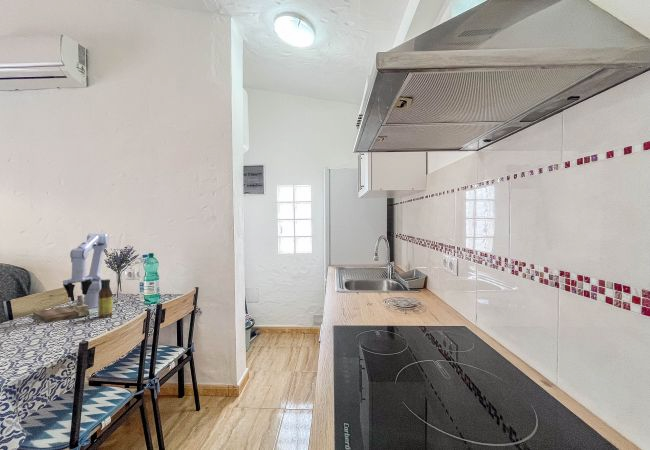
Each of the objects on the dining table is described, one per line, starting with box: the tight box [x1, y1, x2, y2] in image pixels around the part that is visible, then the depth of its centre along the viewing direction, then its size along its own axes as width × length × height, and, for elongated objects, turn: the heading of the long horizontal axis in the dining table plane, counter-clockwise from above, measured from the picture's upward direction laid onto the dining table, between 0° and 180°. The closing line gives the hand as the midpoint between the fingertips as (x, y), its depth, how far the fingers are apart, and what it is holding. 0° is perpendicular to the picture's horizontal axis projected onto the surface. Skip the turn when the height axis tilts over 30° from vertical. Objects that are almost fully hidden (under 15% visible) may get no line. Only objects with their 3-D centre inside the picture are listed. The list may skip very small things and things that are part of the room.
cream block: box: [72, 294, 90, 317], centre depth 169 cm, size 4×9×10 cm, turn 57°
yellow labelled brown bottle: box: [97, 278, 114, 319], centre depth 168 cm, size 6×6×20 cm
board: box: [32, 305, 90, 323], centre depth 167 cm, size 18×20×2 cm
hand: (77, 295), depth 169 cm, fingers open, 7 cm apart
